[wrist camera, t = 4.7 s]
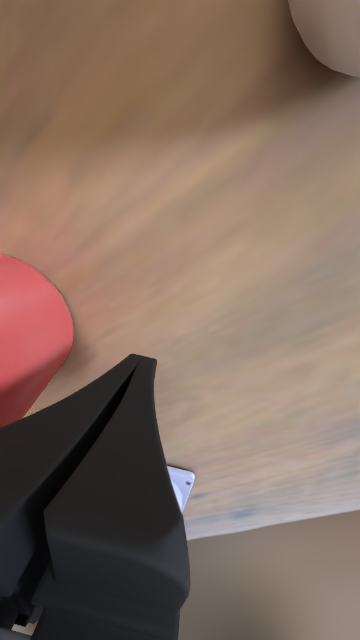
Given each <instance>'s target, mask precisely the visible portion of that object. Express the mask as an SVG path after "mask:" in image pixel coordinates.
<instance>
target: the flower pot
mask: <svg viewBox="0 0 360 640" xmlns="http://www.w3.org/2000/svg"><path fill="white" fill-rule="evenodd" d="M73 336H74V326H73V321H72V317H71V314H70V311H69V309H68V307H67V305H66V303H65V301H64V299H63V298H62V296H61V295H60V293H59V292H58V291H57V289H56V288H55V287H54V286H53V284H52V283H51V282H50V281H49V280H48V279H47V278H46V277H45V276H44V275H42V274H41V273H40V272H39V271H37V270H36V269H34V268H33V267H32V266H30V265H28V264H26V263H25V262H23V261H20V260H18V259H16V258H13V257H10V256H6V255H3V254H0V428H1V427H3V426H6V425H8V424H11V423H13V422H15V421H18V420H20V419H22V418H23V417H24V416H25V414H26V413H27V412H28V410H29V409H30V408H31V406H32V405H33V404H34V402H35V401H36V400H37V398H38V397H39V395H40V394H41V393H42V391H43V390H44V389H45V387H46V386H47V384H48V383H49V382H50V380H51V379H52V377H53V376H54V375H55V373H56V372H57V370H58V369H59V367H60V366H61V364H62V363H63V362H64V360H65V359H66V357H67V356H68V354H69V352H70V350H71V348H72V344H73Z"/></svg>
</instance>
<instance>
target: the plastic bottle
mask: <svg viewBox="0 0 360 640" xmlns="http://www.w3.org/2000/svg"><path fill="white" fill-rule="evenodd" d="M288 4H289V7H290V11H291V15H292V19H293V22H294V24H295V26H296V28H297V30H298V32H299V34H300V36H301V38H302V40H303V42H304V44H305V45H306V47H307V48H308V49H309V51H310V52H311V53H312V54H313V55H314V56H315V58H316V59H317V60H318V61H320V62H321V63H323V64H324V65H326V66H327V67H329V68H330V69H332V70H334V71H337V72H340V73H344V74H347V75H350V76H353V77H360V0H288Z"/></svg>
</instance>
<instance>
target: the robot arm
mask: <svg viewBox="0 0 360 640" xmlns="http://www.w3.org/2000/svg"><path fill="white" fill-rule="evenodd" d="M156 366H157V360H156V359H154V358H149V357H145V356H141V355H136V354H130V355H129V356H128V357H126V358H125V359H124V360H123V361H121V362H120V363H119V364H117V365H116V366H115V367H113V368H112V369H111V370H109V371H108V372H106V373H105V374H104V375H102V376H101V377H99V378H98V379H96V380H95V381H93V382H92V383H90V384H88V385H87V386H85V387H84V388H82V389H80V390H79V391H77V392H75V393H74V394H72V395H70V396H68V397H66V398H65V399H63V400H61V401H59V402H57V403H55V404H53V405H51V406H49V407H47V408H45V409H42V410H40V411H38V412H36V413H34V414H32V415H30V416H27V417H25V418H23V419H20V420H18V421H15V422H13V423H11V424H8V425H6V426H3V427H1V428H0V640H178V631H179V616H180V609H181V607H182V606H183V604H184V602H185V601H186V599H187V598H188V596H189V591H190V565H189V556H188V547H187V540H186V533H185V527H184V520H183V515H182V512H183V510H184V507H185V504H186V502H187V499H188V496H189V494H190V491H191V488H192V486H193V483H194V479H195V475H194V473H192V472H190V471H186V470H182V469H178V468H174V467H170V466H167V465H166V461H165V457H164V453H163V449H162V445H161V441H160V436H159V431H158V425H157V419H156V412H155V402H154V378H155V372H156ZM38 620H39V621H38ZM37 621H38V623H37V626H36V628H35V630H34V633H33V635H32V636H30V635H26V634H23V633H20V632H16V631H12V630H11V629H12V627H13V625H14V624H17V625H21V626H24V627H25V626H26V625H27V624H28V622H29V623H33V624H34V623H35V622H37Z"/></svg>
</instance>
